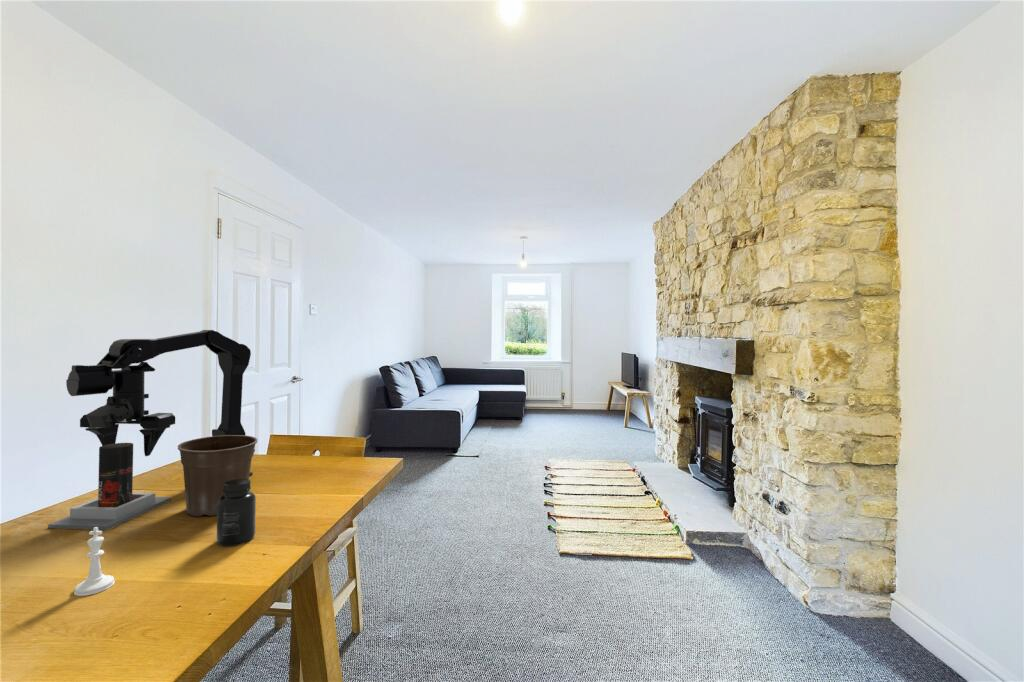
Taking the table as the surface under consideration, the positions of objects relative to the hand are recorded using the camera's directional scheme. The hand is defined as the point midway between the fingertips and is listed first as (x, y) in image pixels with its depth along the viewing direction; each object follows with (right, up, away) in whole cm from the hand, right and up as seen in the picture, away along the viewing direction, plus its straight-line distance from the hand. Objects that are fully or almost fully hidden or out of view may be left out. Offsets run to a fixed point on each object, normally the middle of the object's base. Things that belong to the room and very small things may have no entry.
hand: (128, 455), depth 105 cm
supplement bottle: (+35, -14, -15) cm, 41 cm away
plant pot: (+21, -13, +2) cm, 25 cm away
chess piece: (+23, -14, -33) cm, 42 cm away
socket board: (0, -13, -3) cm, 13 cm away
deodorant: (0, -12, -3) cm, 12 cm away
